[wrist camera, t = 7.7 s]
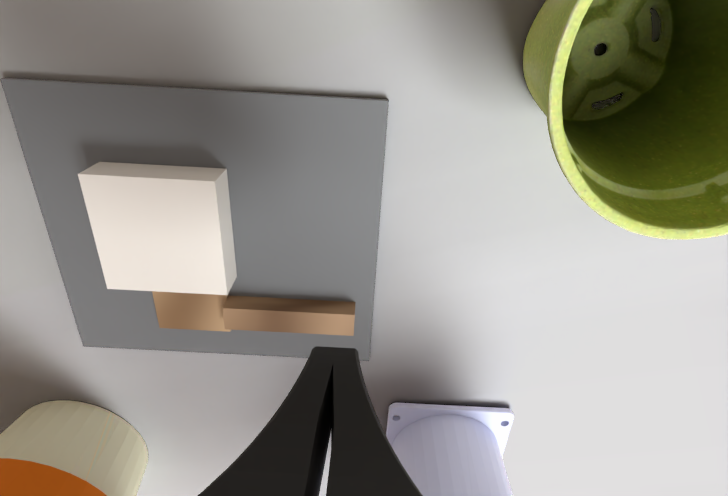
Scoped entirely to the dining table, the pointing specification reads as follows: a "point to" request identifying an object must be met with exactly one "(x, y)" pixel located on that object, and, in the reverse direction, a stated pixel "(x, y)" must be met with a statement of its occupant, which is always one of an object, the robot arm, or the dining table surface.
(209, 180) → the tile
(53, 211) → the mat
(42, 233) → the dining table surface
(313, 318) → the wooden plank
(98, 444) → the reusable coffee cup
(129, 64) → the dining table surface
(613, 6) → the plant pot
